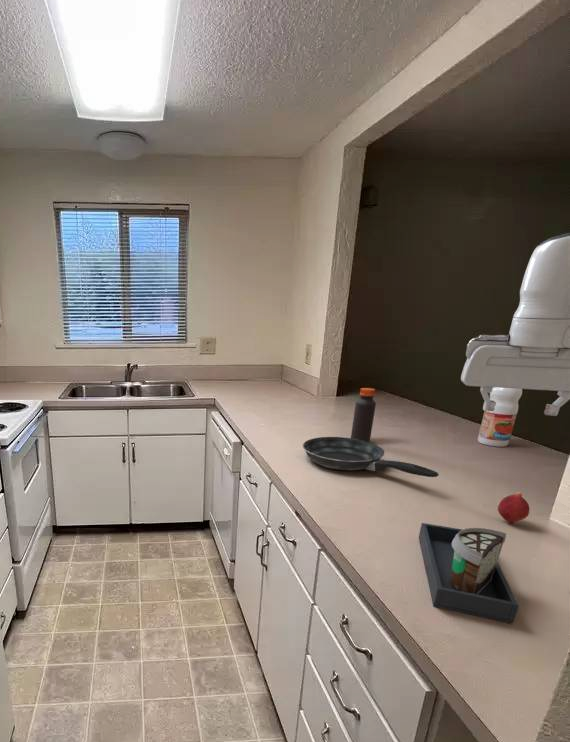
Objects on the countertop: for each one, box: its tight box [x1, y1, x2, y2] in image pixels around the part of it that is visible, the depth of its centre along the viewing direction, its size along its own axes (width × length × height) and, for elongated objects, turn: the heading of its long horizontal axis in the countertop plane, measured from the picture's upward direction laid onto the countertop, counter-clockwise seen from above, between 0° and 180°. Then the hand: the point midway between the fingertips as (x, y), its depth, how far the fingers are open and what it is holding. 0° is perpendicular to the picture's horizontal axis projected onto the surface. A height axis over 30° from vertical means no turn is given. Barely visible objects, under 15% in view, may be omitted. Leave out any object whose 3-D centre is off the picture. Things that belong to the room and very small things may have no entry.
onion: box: [497, 491, 530, 524], centre depth 103 cm, size 6×6×8 cm
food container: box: [450, 527, 507, 595], centre depth 80 cm, size 12×6×10 cm, turn 127°
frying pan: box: [302, 436, 439, 478], centre depth 136 cm, size 44×25×7 cm, turn 27°
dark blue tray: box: [418, 522, 520, 625], centre depth 85 cm, size 12×26×4 cm, turn 156°
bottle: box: [350, 387, 377, 443], centre depth 161 cm, size 7×7×20 cm
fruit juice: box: [477, 387, 523, 448], centre depth 156 cm, size 9×9×28 cm
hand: (518, 412), depth 80 cm, fingers open, 8 cm apart
